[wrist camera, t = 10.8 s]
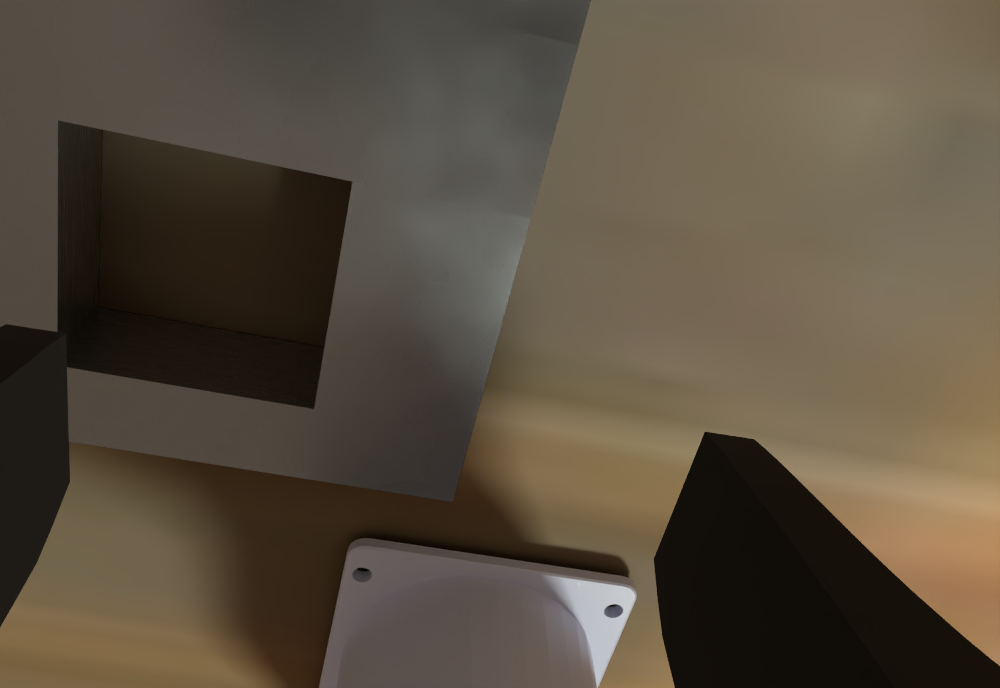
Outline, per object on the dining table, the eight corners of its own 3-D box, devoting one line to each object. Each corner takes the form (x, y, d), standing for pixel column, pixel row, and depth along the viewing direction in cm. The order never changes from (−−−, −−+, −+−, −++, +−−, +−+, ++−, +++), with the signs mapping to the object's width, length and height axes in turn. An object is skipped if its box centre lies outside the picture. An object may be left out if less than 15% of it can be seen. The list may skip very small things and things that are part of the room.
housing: (453, 436, 23) (452, 502, 21) (-58, 350, 22) (-115, 412, 19) (635, -257, 16) (663, -263, 14) (-114, -476, 14) (-216, -523, 12)
